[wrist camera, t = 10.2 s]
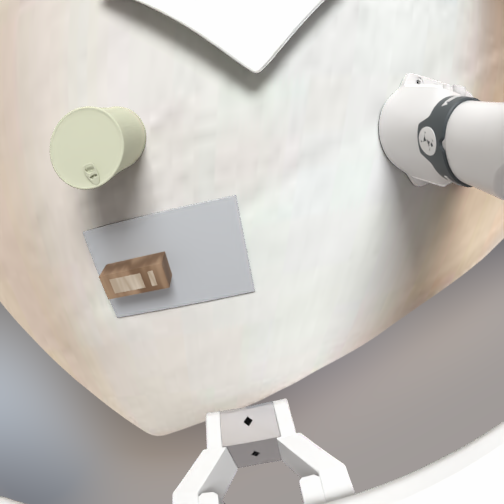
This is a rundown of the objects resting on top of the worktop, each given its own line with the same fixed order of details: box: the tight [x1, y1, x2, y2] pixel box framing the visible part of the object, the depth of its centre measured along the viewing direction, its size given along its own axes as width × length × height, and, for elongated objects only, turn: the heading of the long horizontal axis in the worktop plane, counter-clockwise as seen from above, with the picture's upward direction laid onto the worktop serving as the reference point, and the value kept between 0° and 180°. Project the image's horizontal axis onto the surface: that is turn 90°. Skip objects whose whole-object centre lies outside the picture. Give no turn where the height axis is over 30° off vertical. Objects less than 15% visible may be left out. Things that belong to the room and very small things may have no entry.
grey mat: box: [83, 195, 255, 318], centre depth 48 cm, size 24×16×1 cm, turn 100°
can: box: [50, 106, 146, 190], centre depth 34 cm, size 9×9×12 cm
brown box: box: [99, 251, 172, 299], centre depth 46 cm, size 4×4×10 cm
